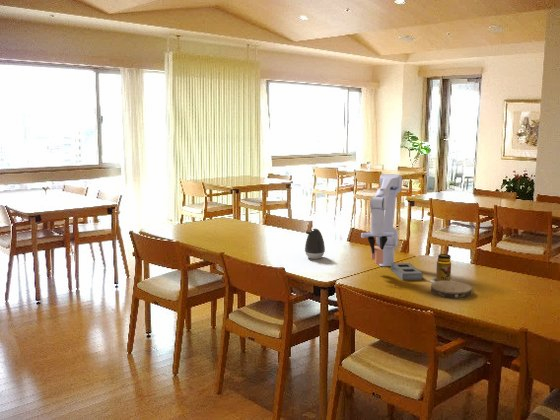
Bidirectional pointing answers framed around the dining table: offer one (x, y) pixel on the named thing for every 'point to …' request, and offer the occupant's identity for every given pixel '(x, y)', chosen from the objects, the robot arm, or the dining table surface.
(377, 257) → the tall salmon pink prism
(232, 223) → the dining table surface
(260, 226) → the dining table surface
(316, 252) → the pump dispenser
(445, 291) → the gray brown round disc
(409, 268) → the gray block with cutout
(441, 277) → the condiment
